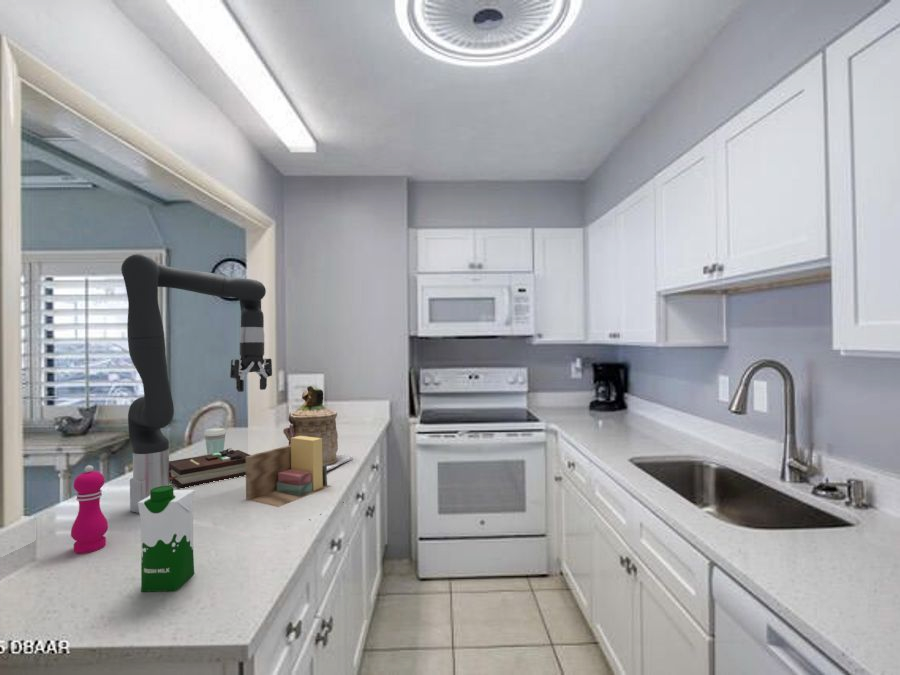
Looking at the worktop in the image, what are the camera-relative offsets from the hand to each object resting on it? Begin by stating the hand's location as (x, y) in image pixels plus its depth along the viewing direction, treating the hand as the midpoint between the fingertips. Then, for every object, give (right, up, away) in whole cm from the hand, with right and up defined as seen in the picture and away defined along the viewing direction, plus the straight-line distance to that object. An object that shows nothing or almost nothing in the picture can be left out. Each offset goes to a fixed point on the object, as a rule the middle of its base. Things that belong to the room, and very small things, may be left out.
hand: (251, 390), depth 158 cm
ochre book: (+18, -32, 0) cm, 36 cm away
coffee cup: (-35, -34, +48) cm, 69 cm away
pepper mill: (-22, -34, -42) cm, 58 cm away
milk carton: (+7, -33, -59) cm, 68 cm away
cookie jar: (+10, -34, +34) cm, 49 cm away
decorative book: (-23, -34, +19) cm, 45 cm away
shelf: (+15, -33, -6) cm, 37 cm away
